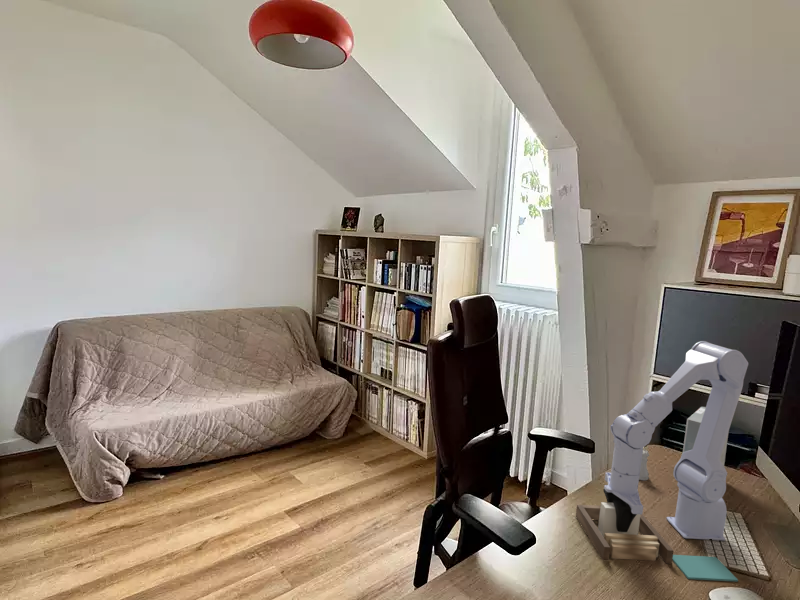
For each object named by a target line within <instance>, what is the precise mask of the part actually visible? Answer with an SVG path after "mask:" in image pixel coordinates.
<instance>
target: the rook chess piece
mask: <svg viewBox="0 0 800 600" xmlns="http://www.w3.org/2000/svg"><path fill="white" fill-rule="evenodd" d="M649 457H650V453H649V451H648V450H646V449H645V448H643V452H642V460H641V467H640V475H639V481H642V482H643V481H647V480H648V479H650V478H649V475H650V473H649V469H648V468H647V466H648V465H647V464H648V462H649V461H648V458H649Z"/></svg>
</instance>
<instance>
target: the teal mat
mask: <svg viewBox="0 0 800 600" xmlns="http://www.w3.org/2000/svg"><path fill="white" fill-rule="evenodd" d="M673 562H674V564H675V566H676V567H677V568H678V569H679V570H680V571H681V573H682V574H683V575H684V576H685V577H686V578H687V579H688V580H698V581H700V580H701V581H702V580H703V581H722V582H736V583H737V582H738V581H739V579H738V577H736V576H735V575H734V573H732V572H731V571H730V569H728V568H727V566H726V565H725V564H724V563H723V562H721V561H720V559H719V558H717V556H708V555H707V556H706V555H688V554H687V555H686V554H685V555H684V554H673V558H672V563H673Z"/></svg>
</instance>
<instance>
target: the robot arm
mask: <svg viewBox="0 0 800 600" xmlns="http://www.w3.org/2000/svg"><path fill="white" fill-rule="evenodd" d="M684 360H685V361H684V362H683V363H682V364H681V366H679V368H678V369H677V370H676V371H675V372H674V373H673V374H672V375H671V376H670V378H669V379H668V380H667V381H666V383H665V384H664V385H662V387H661V388H660V389H659V390H658V391H650V392H648V393H645V394H644V396H643V397H642V399H641V400H640V401H639V402H638V403H637V404H636V405H635V406H634V407H633V408H632V409H631V410H630V411H628V412H627V413H626V414H621V415H619V416H617V417H616V418H615V419H614V420H613V423H612V424H611V425H609V426H610V432H611V434H612V435H613V443H614V446H613V453H612V454H613V455H612V462H611V470H610V472H609V471H607V472H606V471H605V474H604V475H605V476H604V481H605V482H606V483H607V484H605V485H604V486H603V489H602V490H603V493H604V496H605V498H606V502H607V503H614V506H615V510H616V528H617V531H618V532H627V531H628V529H629V527H630V525H631V523H632V521H633V519H634V517H635V516H636V515H637V514H643V513H644V512H643V511H644V505H643V504H642V502H641V498H640V493H639V491H638V489H639V482H640V480H639V475H640V467H641V460H642V452H643V451H644V448H645V447H646V446H647V445H649V444H650V442H651V440H652V436H653V433H654V432H655V430H656V427H658V425H659V424H661V422H662V421H663V420H664V419H666V417H667V416H668V415H670V414H671V413H672V411H673V402H675V401H676V400H677V399H678V398H680V396H682V395H683V394H684V393H686V392H687V391H688V390H689V389H691V388H692V387H693V386H694V385H695V384H697V383H698V382H699V381H701V380H702V381H706V380H707V381H709V383H710V384H711V390H710V392H709V397H708V399H707V402H706V406H705V407H706V408H705V412H704V415H703V418H702V421H701V424H700V427H699V431H698V434H697V437H696V440H695V443H694V447H693V449H692V450H689V451H686V452H683V451H682V452H681V453H682V454H681V456H680V459H679V460H678V461H677V463H676V464H675V465H674V468H673V477H674V479H675V480H676V482H677V485H676V486H677V487H678V493H677V500H676V508H675V516H666V520H667V521H668V523H670V524H671V525H672V527H673V528H674V529H675V530H676V531H677V533H679V534H680V535H681V536H682V538H684V539H691V540H692V539H694V540H709V539H712V541H726V538H725V536H724V532H725V527H726V526H725V525H726V520H727V513H728V512H727V505H726V502H725V500H724V498H723V497H724V495H725V493H726V491H727V482H726V480H727V476H728V472H727V469H726V467H725V465H724V466H723V464H722V462H721V461H720V456H721V453H722V450H723V447H724V444H725V441H726V437H727V434H728V435H729V432H730V428H731V424H732V421H733V418H734V415H735V412H736V410H737V409H736V408H737V405H738V403H739V400H740V397H741V393H742V390H743V388H744V387H743V386H744V379H745V377H746V374H747V369H748V367H749V362H748V360H747V358H746V357H745V356H744V354H743V353H742V352H741V351H739V350H737V349H731V348H729V347H728V348H727V347H724V346H721V345H717V344H713V343H711V342H708V341H706V340H700V341H697V342H696V343H695V344H694V345H692V347H691V349H689V350H688V351H687V352H686V353H685V359H684ZM728 431H729V432H728Z"/></svg>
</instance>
